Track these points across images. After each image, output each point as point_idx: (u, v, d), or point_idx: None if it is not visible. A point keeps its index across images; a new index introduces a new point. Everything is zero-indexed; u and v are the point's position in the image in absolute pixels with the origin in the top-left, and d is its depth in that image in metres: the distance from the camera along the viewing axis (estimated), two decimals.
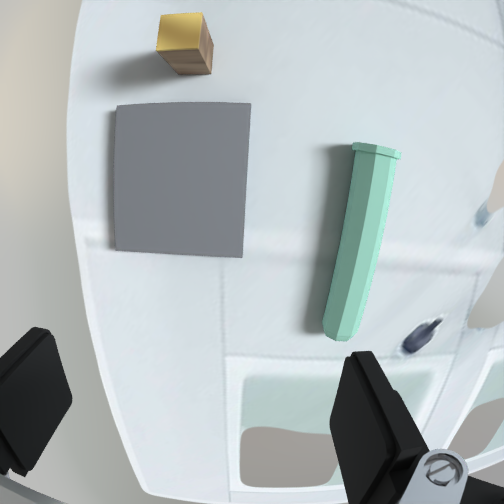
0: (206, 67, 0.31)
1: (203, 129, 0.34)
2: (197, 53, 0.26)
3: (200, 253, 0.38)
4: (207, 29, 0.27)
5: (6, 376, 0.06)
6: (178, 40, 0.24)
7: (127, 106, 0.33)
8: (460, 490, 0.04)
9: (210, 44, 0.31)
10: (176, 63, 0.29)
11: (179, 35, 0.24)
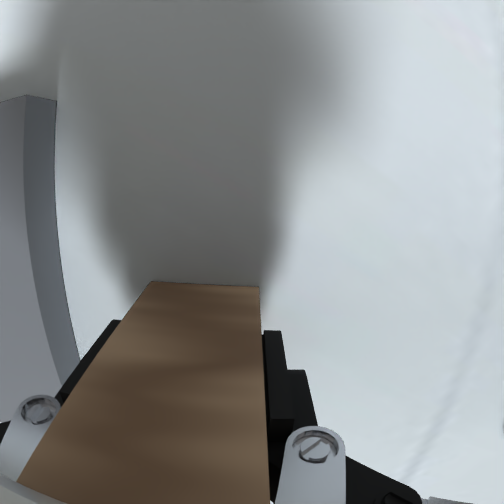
0: None
1: (6, 363, 0.11)
2: None
3: None
4: None
5: None
6: None
7: (19, 137, 0.08)
8: (343, 462, 0.05)
9: None
10: None
11: None
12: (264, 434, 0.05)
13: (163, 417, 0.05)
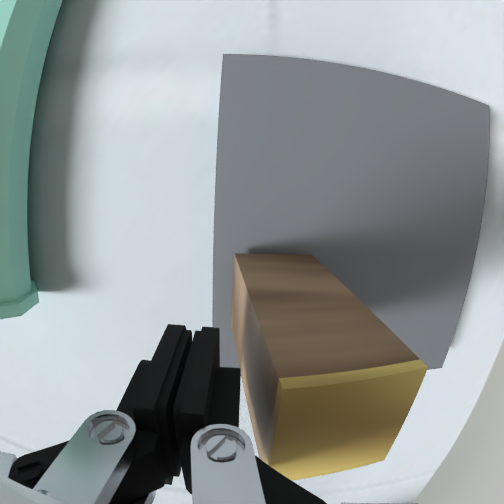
0: (245, 275, 0.13)
1: None
2: (279, 347, 0.08)
3: (323, 65, 0.14)
4: (245, 392, 0.12)
5: (170, 378, 0.07)
6: (353, 407, 0.07)
7: None
8: (253, 457, 0.05)
9: (237, 336, 0.14)
10: (332, 294, 0.12)
11: (346, 421, 0.07)
12: None
13: None
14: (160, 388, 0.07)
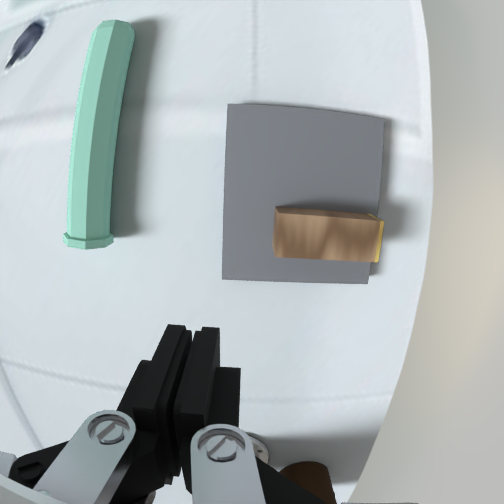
0: (312, 215, 0.28)
1: (272, 251, 0.33)
2: (367, 219, 0.28)
3: (279, 108, 0.29)
4: (336, 258, 0.29)
5: (170, 378, 0.07)
6: None
7: (355, 281, 0.34)
8: (253, 457, 0.05)
9: (304, 249, 0.29)
10: (326, 211, 0.31)
11: None
12: None
13: None
14: (160, 388, 0.07)
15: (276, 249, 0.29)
